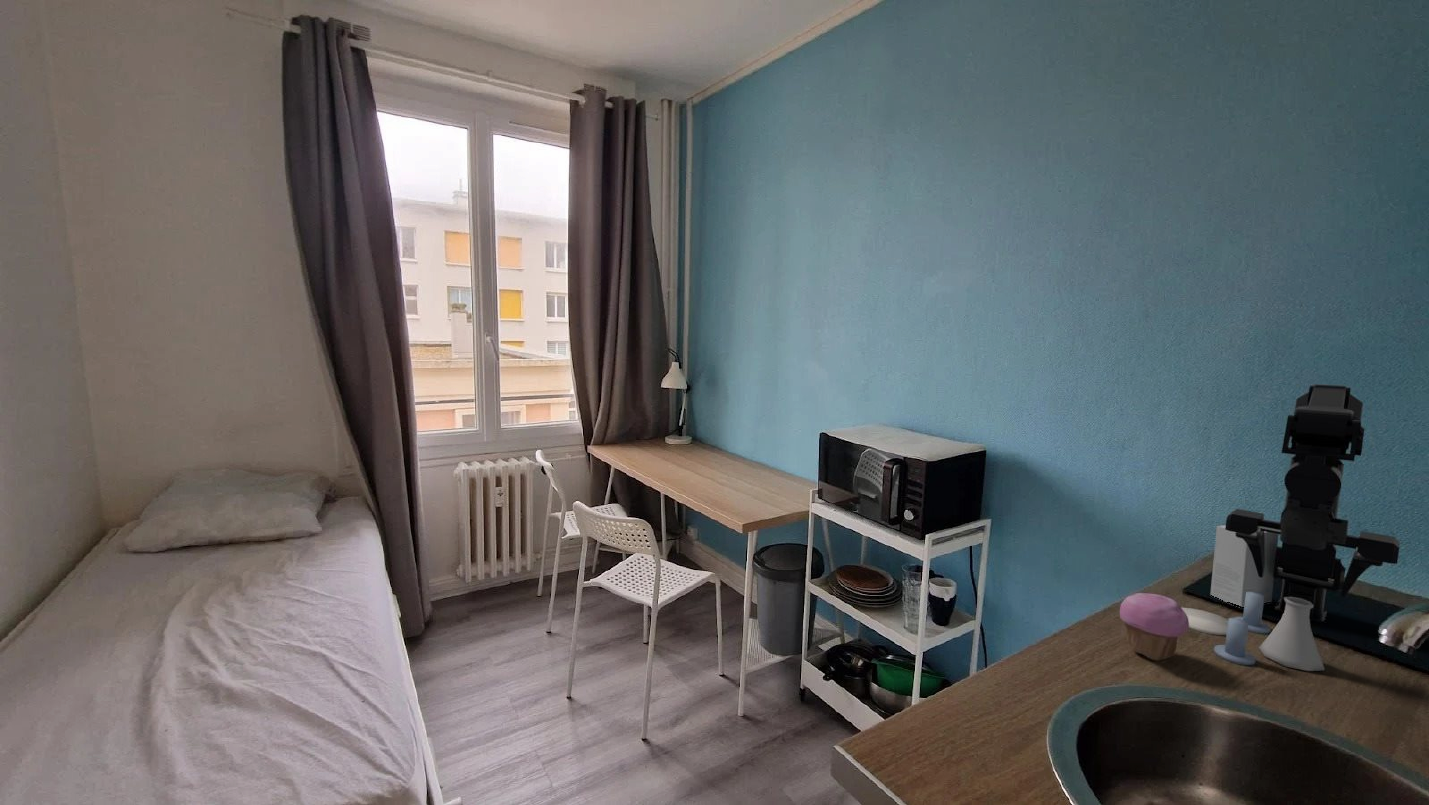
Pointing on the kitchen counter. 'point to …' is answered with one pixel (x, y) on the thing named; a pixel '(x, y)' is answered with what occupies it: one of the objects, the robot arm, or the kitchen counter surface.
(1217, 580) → the skincare box
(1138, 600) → the cupcake
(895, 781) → the kitchen counter surface
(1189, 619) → the cream round disc
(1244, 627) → the pair of blue pegs
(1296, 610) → the flask
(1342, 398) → the robot arm
